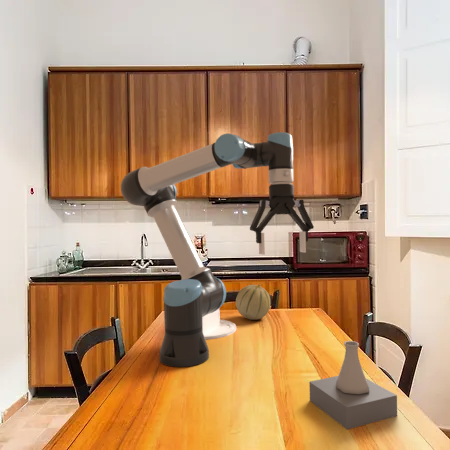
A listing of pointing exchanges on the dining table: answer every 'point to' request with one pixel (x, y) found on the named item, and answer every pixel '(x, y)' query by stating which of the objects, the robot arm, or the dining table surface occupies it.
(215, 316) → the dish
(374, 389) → the riser block
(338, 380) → the flask
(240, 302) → the cantaloupe
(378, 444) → the dining table surface
